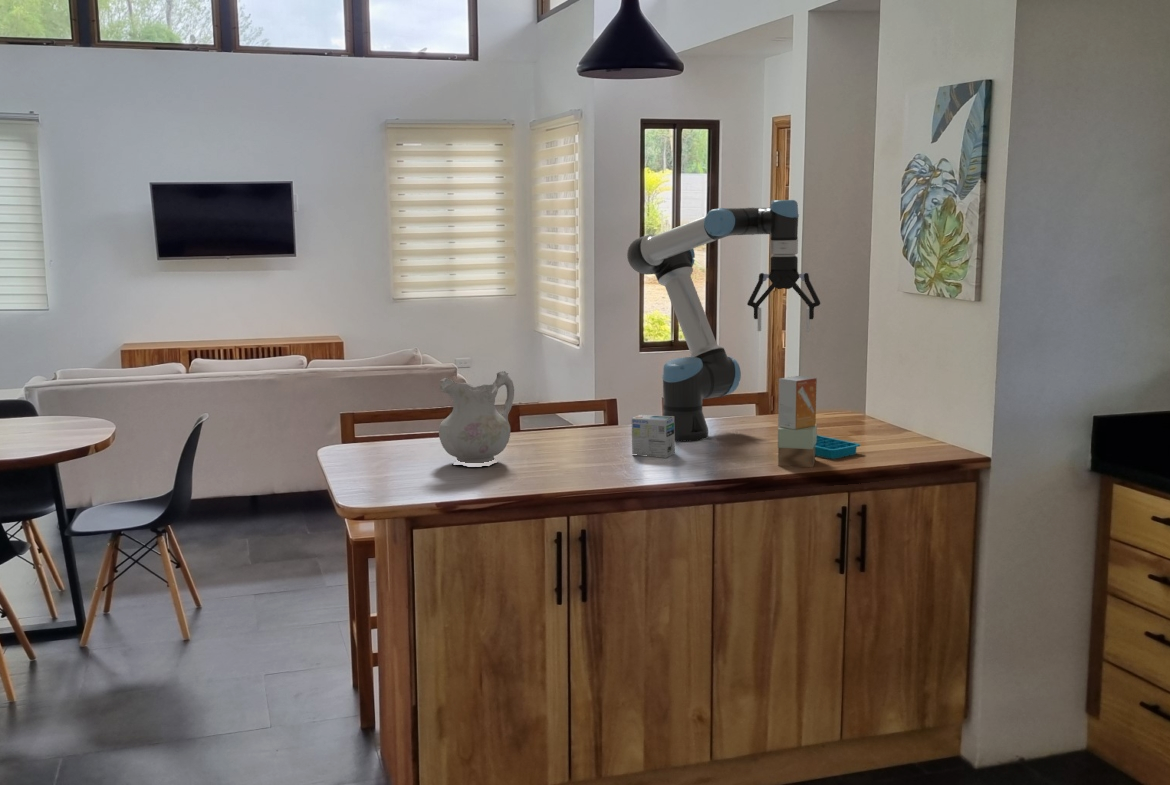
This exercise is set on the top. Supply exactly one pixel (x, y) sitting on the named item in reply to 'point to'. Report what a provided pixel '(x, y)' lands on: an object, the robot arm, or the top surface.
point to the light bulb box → (653, 435)
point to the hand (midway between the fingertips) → (783, 331)
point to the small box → (797, 402)
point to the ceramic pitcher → (476, 420)
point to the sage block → (797, 437)
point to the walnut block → (796, 457)
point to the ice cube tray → (834, 447)
